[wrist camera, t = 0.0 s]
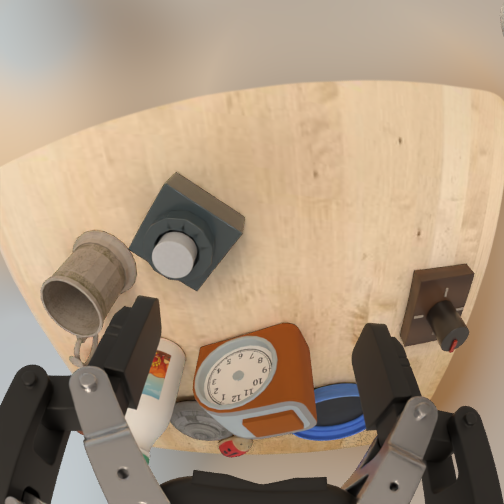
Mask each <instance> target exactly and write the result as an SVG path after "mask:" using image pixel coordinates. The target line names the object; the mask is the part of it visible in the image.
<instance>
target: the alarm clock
mask: <svg viewBox="0 0 504 504" xmlns="http://www.w3.org/2000/svg"><path fill="white" fill-rule="evenodd" d="M193 393H194V397H195V399H196V401H197V402H198V404H199V405H200V406H201V407H202V408H203V409H204V410H205V411H206V412H207V413H208V414H210V415H211V416H212V417H213V418H214V419H215V420H216V421H218V422H219V423H220V424H221V425H222V426H223V427H225V428H226V429H227V430H228V431H229V432H231V433H232V434H234V435H236V436H237V437H240V438H244V439H263V438H269V437H275V436H280V435H285V434H291V433H295V432H300V431H305V430H308V429H311V428H313V427H314V426H315V425H316V424H317V414H316V404H315V395H314V386H313V377H312V368H311V360H310V351H309V347H308V345H307V343H306V341H305V340H304V338H303V336H302V334H301V332H300V330H299V329H298V327H297V326H295V325H293V324H290V323H282V324H278V325H275V326H272V327H268V328H265V329H262V330H259V331H255V332H252V333H249V334H245V335H242V336H239V337H235V338H232V339H228V340H225V341H221V342H218V343H214V344H210V345H207V346H203V347H201V348H200V352H199V357H198V361H197V366H196V371H195V375H194V380H193Z"/></svg>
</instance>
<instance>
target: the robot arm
mask: <svg viewBox="0 0 504 504" xmlns="http://www.w3.org/2000/svg"><path fill="white" fill-rule="evenodd" d="M160 338H161V318H160V307H159V300H158V299H157V298H152V297H146V296H138V297H137V299H136V301H135V303H134V304H133V306H132V308H131V307H126V306H124V307H123V308H122V309H121V310H119V311H118V312H117V313H116V314H115V315H114V316H113V318H112V320H111V322H110V324H109V326H108V327H107V329H106V331H105V334H104V335H103V337H102V339H101V341H100V343H99V344H98V346H97V348H96V350H95V352H94V354H93V356H92V358H91V360H90V362H89V364H88V365H87V366H84V367H81V368H79V369H77V370H76V371H75V372H74V373H73V374H72V375H70V376H48V375H47V373H46V371H45V370H44V369H43V368H42V367H40V366H38V365H27V366H25V367H23V368H21V369H20V370H19V371H18V372H17V373H16V375H15V377H14V379H13V381H12V383H11V385H10V387H9V389H8V391H7V393H6V395H5V397H4V399H3V401H2V403H1V405H0V504H51V499H52V496H53V491H54V487H55V484H56V479H57V476H58V472H59V469H60V465H61V462H62V458H63V455H64V452H65V448H66V445H67V442H68V439H69V435H70V432H71V431H83V434H84V438H85V440H84V441H83V442H84V447H85V450H86V453H87V455H88V458H89V460H90V463H91V465H92V468H93V470H94V473H95V475H96V477H97V480H98V482H99V484H100V486H101V489H102V491H103V493H104V495H105V497H106V499H107V501H108V504H410V502H411V500H412V497H413V496H414V494H415V491H416V489H417V487H418V485H419V483H420V480H421V478H422V483H423V490H424V497H425V504H504V503H503V498H502V493H501V488H500V483H499V479H498V475H497V471H496V467H495V463H494V460H493V456H492V452H491V449H490V445H489V442H488V438H487V435H486V432H485V429H484V426H483V423H482V420H481V417H480V415H479V414H478V412H477V411H476V410H475V409H473V408H472V407H469V406H462V407H460V408H459V409H458V410H457V411H456V412H455V413H448V412H444V411H439V410H437V409H436V406H435V405H434V403H433V402H431V401H430V400H429V399H427V398H425V397H422V396H421V393H420V390H419V387H418V385H417V382H416V379H415V376H414V374H413V371H412V368H411V367H410V363H409V361H408V358H407V356H406V353H405V350H404V348H403V346H402V345H401V344H400V342H399V341H398V340H397V339H396V338H395V337H391V336H390V333H389V331H388V328H387V326H386V325H385V324H376V323H367V324H366V325H365V326H364V328H363V330H362V333H361V335H360V337H359V339H358V341H357V343H356V345H355V347H354V349H353V353H352V366H353V370H354V374H355V378H356V383H357V387H358V392H359V397H360V401H361V406H362V411H363V416H364V421H365V426H366V431H368V430H377V434H378V435H377V436H376V437H375V439H374V440H373V442H372V444H371V446H370V447H369V449H368V451H367V452H366V454H365V456H364V457H363V459H362V461H361V462H360V464H359V465H358V467H357V468H356V470H355V472H354V473H353V474H352V476H351V477H350V478H349V479H348V480H347V481H346V482H345V483H344V485H343V486H342V487H341V488H339V487H337V486H333V485H330V484H327V477H314V478H293V479H288V480H284V481H279V482H274V483H269V484H257V483H253V482H250V481H246V480H243V479H240V478H237V477H234V476H231V475H227V474H219V473H212V472H204V471H198V470H194V471H193V476H187V477H180V478H176V479H172V480H169V481H167V482H165V483H162V484H160V485H159V484H158V482H157V480H156V479H155V477H154V475H153V473H152V471H151V469H150V468H149V466H148V464H147V462H146V460H145V458H144V456H143V454H142V452H141V450H140V448H139V447H138V444H137V442H136V440H135V438H134V436H133V434H132V432H131V430H130V428H129V426H128V424H127V421H126V419H125V415H126V412H127V409H128V408H131V409H135V410H137V407H138V404H139V401H140V398H141V395H142V392H143V389H144V386H145V383H146V380H147V377H148V374H149V371H150V368H151V365H152V362H153V359H154V356H155V354H156V351H157V348H158V345H159V342H160ZM453 453H454V454H455V459H456V463H457V467H458V472H459V473H458V478H457V479H456V474H455V469H454V465H453V460H452V456H451V455H452V454H453Z"/></svg>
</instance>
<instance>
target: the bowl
mask: <svg viewBox="0 0 504 504" xmlns="http://www.w3.org/2000/svg"><path fill="white" fill-rule="evenodd" d="M314 395H315V404H316V414H317V424H316V425H315V426H314V427H313V428H311V429H308V430H305V431H300V432H295V433H292V434H294V435H296V436H298V437H300V438H303V439H308V440H316V441H327V440H336V439H341V438H345V437H349V436H352V435H354V434H357V433H359V432H361V431H363V430H365V429H366V426H365V421H364V416H363V411H362V406H361V401H360V397H359V392H358V387H357V384H351V383H343V384H334V385H328V386H324V387H321V388H317V389H315V390H314Z"/></svg>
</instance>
